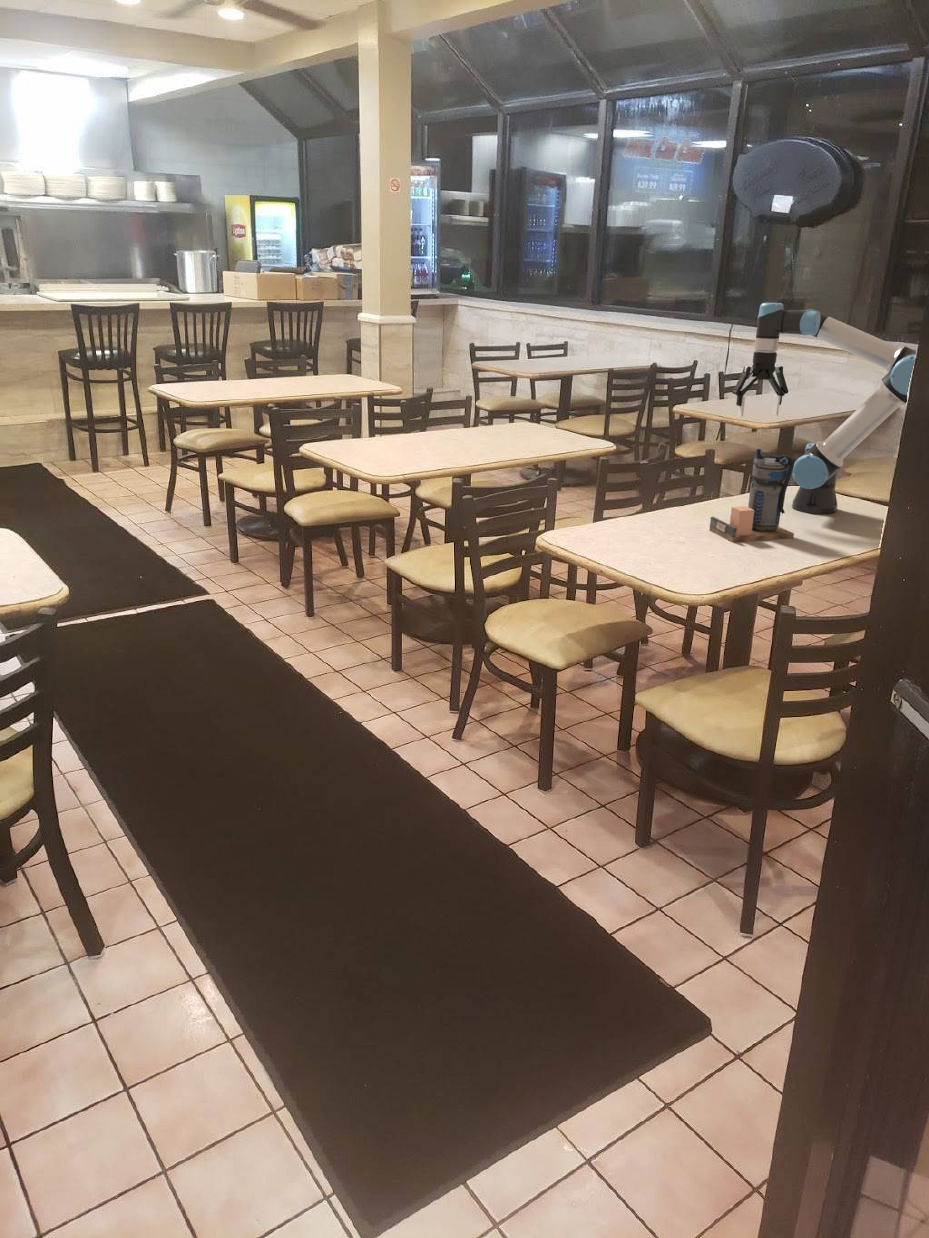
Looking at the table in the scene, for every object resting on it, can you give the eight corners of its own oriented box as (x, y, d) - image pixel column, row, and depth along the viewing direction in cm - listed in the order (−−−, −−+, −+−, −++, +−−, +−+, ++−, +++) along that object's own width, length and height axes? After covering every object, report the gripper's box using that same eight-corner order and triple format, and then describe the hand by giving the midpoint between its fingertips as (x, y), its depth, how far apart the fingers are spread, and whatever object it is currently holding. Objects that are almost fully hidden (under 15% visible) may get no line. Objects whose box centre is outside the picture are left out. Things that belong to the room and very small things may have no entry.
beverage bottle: (776, 535, 299) (787, 456, 290) (737, 527, 307) (747, 450, 299) (790, 529, 306) (801, 452, 297) (752, 522, 315) (762, 446, 306)
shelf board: (768, 526, 315) (770, 513, 314) (793, 538, 303) (795, 524, 301) (708, 530, 309) (710, 516, 308) (731, 542, 297) (732, 528, 295)
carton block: (742, 530, 304) (745, 506, 301) (751, 534, 300) (754, 510, 297) (728, 531, 303) (731, 507, 300) (737, 535, 298) (740, 510, 296)
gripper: (791, 350, 326) (782, 412, 333) (726, 350, 319) (719, 414, 327) (804, 352, 319) (795, 416, 327) (738, 352, 312) (730, 417, 320)
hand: (757, 415), depth 327 cm, fingers open, 13 cm apart
